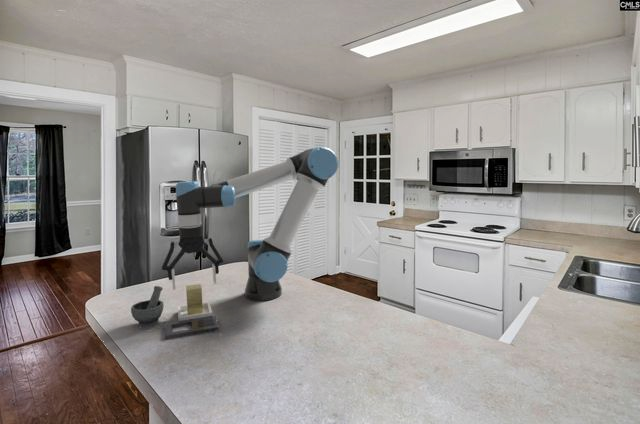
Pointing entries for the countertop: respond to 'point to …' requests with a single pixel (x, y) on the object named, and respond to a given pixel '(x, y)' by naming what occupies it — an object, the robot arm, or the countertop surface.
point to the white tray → (184, 314)
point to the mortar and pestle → (148, 310)
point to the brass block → (194, 299)
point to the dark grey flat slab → (197, 327)
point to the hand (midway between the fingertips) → (195, 285)
